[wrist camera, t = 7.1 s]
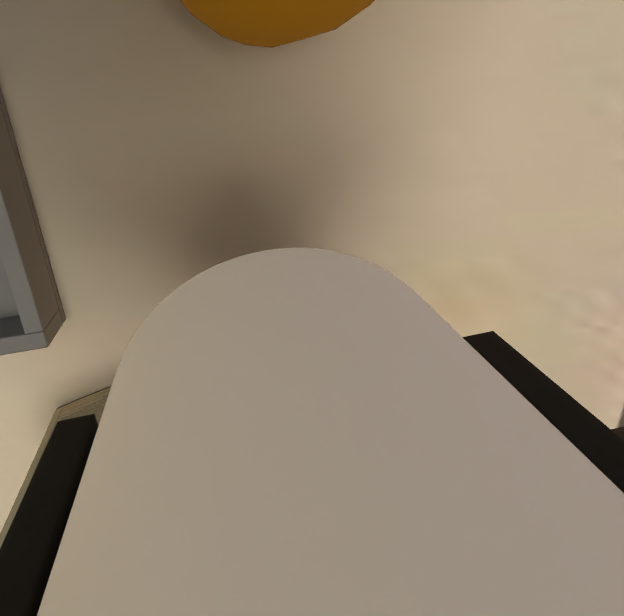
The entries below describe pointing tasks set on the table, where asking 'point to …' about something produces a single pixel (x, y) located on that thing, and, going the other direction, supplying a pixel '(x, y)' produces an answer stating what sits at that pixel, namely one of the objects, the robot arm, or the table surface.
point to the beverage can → (327, 464)
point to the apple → (273, 18)
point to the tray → (22, 259)
